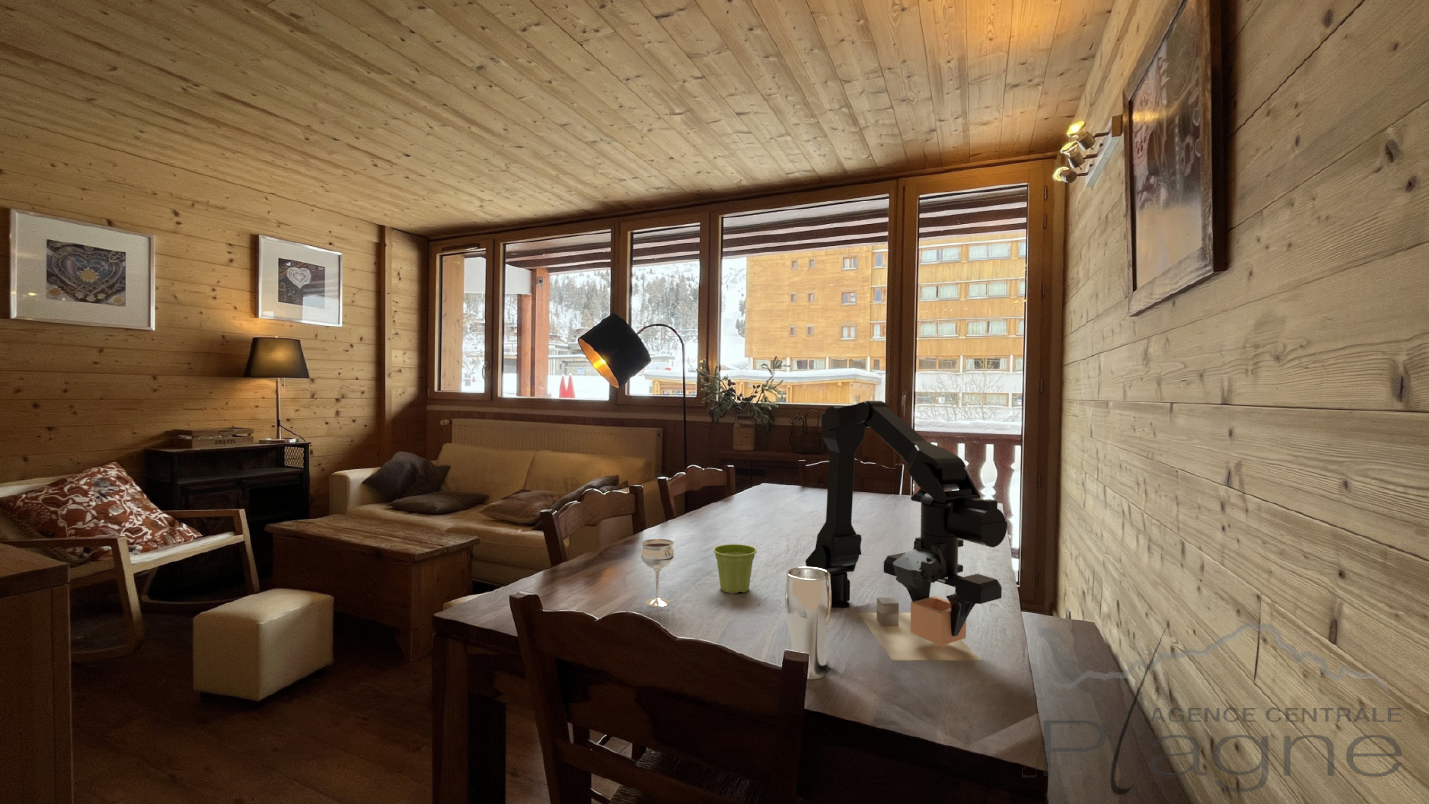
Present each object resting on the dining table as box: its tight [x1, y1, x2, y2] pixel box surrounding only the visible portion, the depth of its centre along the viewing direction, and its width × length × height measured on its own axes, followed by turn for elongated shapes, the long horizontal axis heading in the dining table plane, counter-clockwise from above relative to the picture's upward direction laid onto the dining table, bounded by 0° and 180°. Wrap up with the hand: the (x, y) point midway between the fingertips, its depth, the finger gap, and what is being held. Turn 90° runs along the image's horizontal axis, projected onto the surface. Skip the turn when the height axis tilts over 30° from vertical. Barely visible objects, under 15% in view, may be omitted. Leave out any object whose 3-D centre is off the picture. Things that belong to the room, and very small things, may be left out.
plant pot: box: [712, 543, 758, 594], centre depth 130 cm, size 9×9×9 cm
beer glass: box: [784, 566, 832, 680], centre depth 92 cm, size 7×7×15 cm
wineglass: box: [640, 538, 675, 608], centre depth 122 cm, size 7×7×12 cm
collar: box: [910, 595, 967, 646], centre depth 98 cm, size 6×6×5 cm
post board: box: [858, 597, 983, 662], centre depth 103 cm, size 14×20×6 cm
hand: (937, 628), depth 98 cm, fingers closed on collar, 6 cm apart
